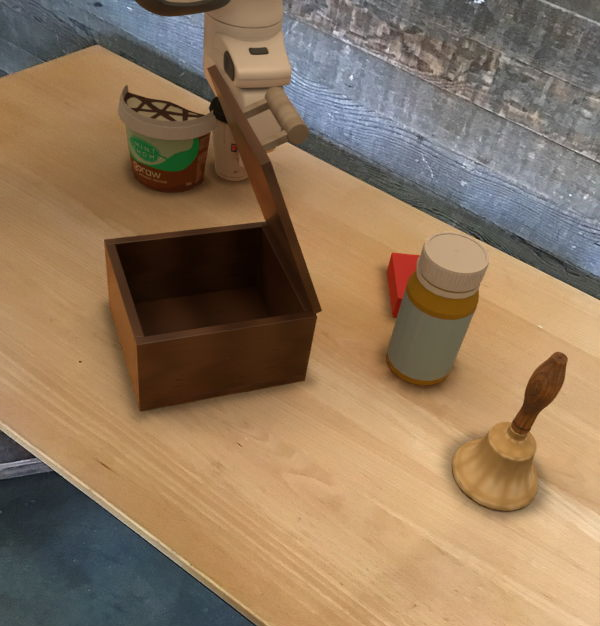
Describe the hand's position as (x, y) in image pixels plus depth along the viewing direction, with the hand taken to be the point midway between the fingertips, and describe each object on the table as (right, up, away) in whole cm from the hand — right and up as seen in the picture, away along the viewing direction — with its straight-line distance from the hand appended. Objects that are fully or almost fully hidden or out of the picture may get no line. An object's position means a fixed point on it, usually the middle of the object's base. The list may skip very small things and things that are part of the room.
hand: (234, 146), depth 97 cm
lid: (+5, -14, -30) cm, 34 cm away
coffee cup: (0, -3, +3) cm, 4 cm away
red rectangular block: (+22, -21, -9) cm, 32 cm away
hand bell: (+27, -40, -25) cm, 54 cm away
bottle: (+21, -29, -16) cm, 39 cm away
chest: (-1, -27, -19) cm, 33 cm away
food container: (-9, -5, -1) cm, 11 cm away
